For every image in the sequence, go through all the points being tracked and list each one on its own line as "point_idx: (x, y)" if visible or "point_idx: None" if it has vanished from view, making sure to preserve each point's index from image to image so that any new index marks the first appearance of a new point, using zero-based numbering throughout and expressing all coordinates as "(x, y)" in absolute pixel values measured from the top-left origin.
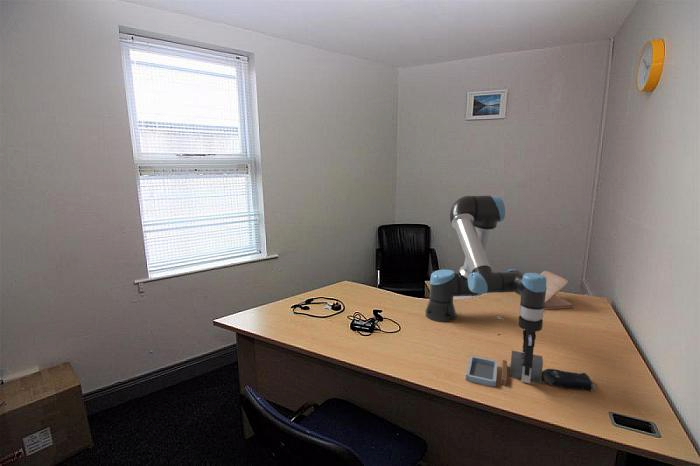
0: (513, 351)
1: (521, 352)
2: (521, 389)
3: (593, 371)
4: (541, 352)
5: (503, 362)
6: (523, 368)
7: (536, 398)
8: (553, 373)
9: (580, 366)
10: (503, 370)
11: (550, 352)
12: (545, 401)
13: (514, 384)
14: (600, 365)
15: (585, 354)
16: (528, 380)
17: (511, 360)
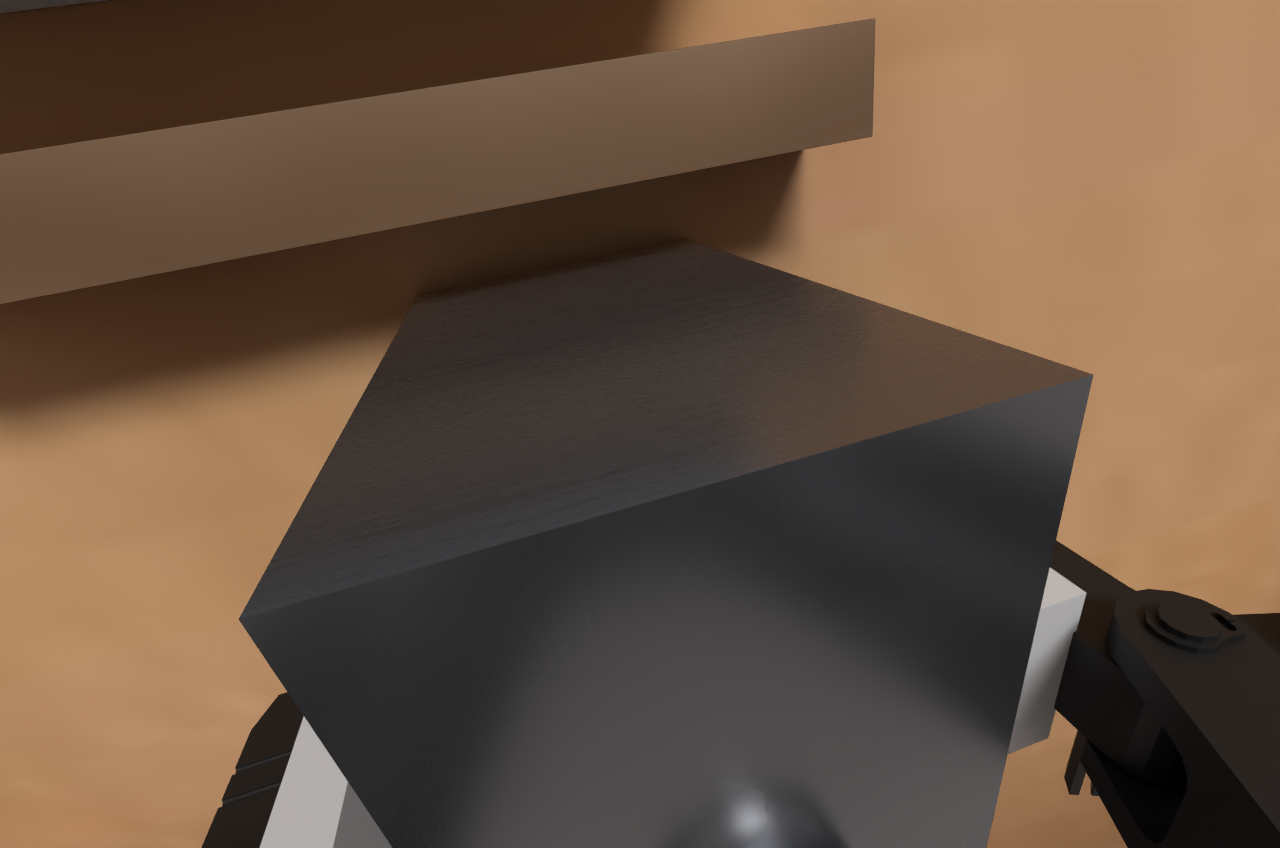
0: (1007, 474)
1: (1006, 716)
2: (130, 566)
3: (1004, 837)
4: (1266, 482)
5: (764, 61)
6: (295, 777)
7: (77, 770)
8: None
9: (1056, 770)
10: (331, 146)
11: (1266, 547)
12: (121, 845)
13: (193, 434)
14: (1098, 829)
15: None
16: None
17: (321, 479)
